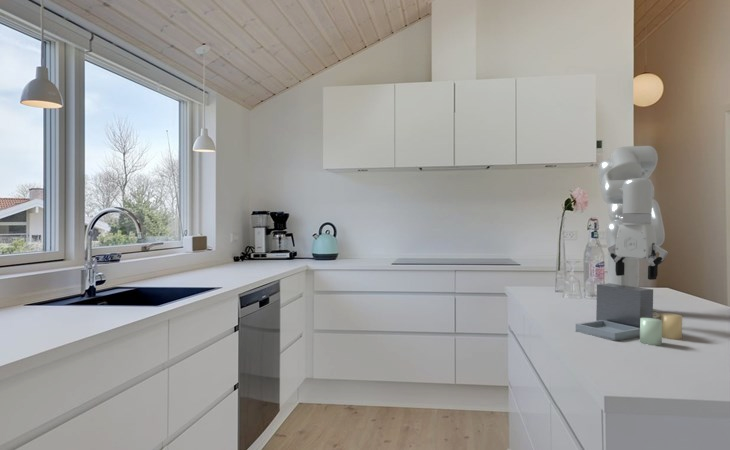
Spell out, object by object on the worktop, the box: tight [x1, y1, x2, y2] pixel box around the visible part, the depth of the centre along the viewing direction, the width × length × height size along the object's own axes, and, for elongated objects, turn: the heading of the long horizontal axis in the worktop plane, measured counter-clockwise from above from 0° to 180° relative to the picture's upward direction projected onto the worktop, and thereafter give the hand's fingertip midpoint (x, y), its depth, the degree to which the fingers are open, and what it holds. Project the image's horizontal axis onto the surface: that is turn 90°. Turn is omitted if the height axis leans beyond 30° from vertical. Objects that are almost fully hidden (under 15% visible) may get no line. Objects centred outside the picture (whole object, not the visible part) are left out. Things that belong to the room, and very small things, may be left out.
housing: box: [595, 282, 654, 328], centre depth 133 cm, size 8×14×12 cm, turn 28°
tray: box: [575, 320, 640, 342], centre depth 126 cm, size 12×12×2 cm
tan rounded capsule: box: [660, 312, 683, 341], centre depth 123 cm, size 5×5×6 cm
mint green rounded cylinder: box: [639, 318, 663, 346], centre depth 117 cm, size 5×5×6 cm
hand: (635, 277), depth 137 cm, fingers open, 9 cm apart
